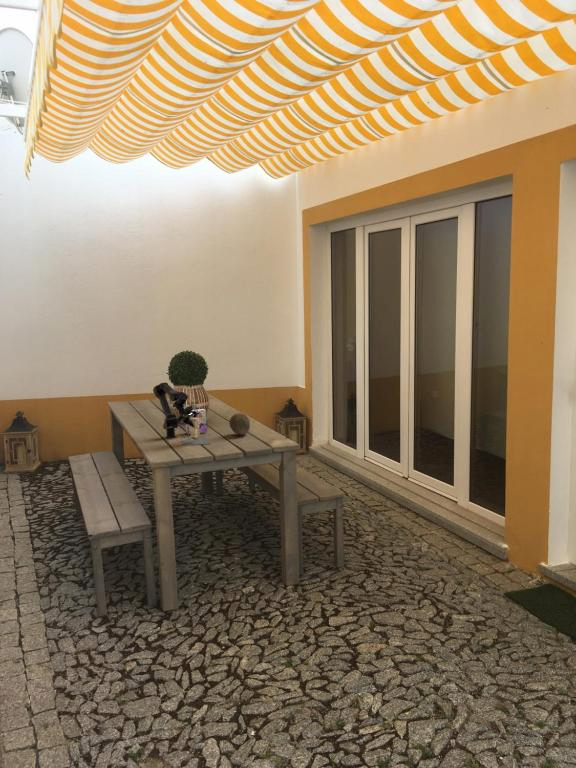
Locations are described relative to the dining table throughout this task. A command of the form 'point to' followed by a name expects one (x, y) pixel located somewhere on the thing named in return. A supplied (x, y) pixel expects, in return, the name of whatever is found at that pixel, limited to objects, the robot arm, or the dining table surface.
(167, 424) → the robot arm
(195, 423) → the birch block
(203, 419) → the candy box
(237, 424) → the cantaloupe
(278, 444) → the dining table surface
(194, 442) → the rubber mat
